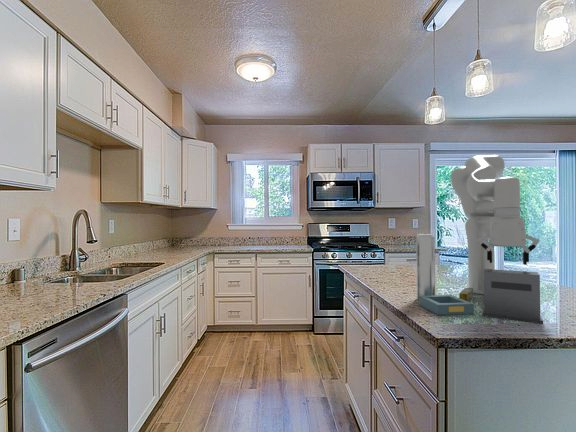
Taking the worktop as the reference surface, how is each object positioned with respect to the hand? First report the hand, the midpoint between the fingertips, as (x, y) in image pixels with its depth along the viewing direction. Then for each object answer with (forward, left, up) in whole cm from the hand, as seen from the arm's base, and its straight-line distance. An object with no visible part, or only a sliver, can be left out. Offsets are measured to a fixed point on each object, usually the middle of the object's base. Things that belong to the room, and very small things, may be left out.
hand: (507, 263), depth 108 cm
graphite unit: (+7, +9, -15) cm, 19 cm away
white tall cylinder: (+22, -14, -16) cm, 30 cm away
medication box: (+7, -12, -16) cm, 21 cm away
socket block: (+23, 0, -15) cm, 27 cm away
